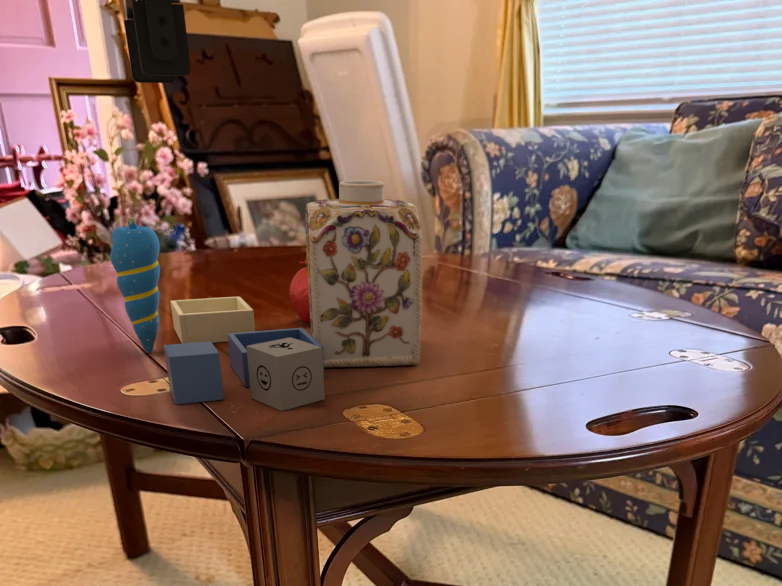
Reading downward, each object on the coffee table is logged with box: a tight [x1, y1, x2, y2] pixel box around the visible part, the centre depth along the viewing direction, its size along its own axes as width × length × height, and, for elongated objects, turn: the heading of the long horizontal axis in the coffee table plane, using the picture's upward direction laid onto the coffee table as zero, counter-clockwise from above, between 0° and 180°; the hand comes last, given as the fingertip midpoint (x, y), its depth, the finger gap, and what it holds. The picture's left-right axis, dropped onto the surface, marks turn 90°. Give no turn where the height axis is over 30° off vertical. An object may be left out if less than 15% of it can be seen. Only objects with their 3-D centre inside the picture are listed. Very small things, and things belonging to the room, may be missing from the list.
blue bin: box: [227, 327, 325, 388], centre depth 80 cm, size 8×8×4 cm
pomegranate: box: [289, 260, 311, 326], centre depth 99 cm, size 10×10×9 cm
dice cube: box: [246, 337, 325, 412], centre depth 72 cm, size 5×5×5 cm
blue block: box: [163, 341, 225, 405], centre depth 72 cm, size 4×4×4 cm
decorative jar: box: [304, 179, 424, 369], centre depth 83 cm, size 12×12×18 cm
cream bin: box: [170, 296, 256, 344], centre depth 94 cm, size 9×9×4 cm
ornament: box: [109, 210, 161, 354], centre depth 83 cm, size 5×5×15 cm
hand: (160, 79), depth 56 cm, fingers open, 9 cm apart
